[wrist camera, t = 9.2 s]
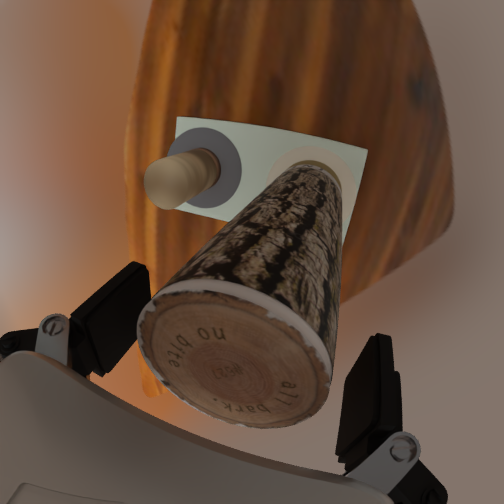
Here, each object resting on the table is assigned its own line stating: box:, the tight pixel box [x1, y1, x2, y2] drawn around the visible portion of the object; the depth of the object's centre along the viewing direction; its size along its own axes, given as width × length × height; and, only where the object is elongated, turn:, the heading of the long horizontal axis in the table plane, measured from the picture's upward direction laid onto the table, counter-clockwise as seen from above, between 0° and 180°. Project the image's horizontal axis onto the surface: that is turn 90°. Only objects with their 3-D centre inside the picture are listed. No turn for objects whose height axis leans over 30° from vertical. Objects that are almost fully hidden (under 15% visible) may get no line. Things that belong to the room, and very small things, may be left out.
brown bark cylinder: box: [137, 160, 342, 429], centre depth 19 cm, size 7×7×25 cm
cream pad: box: [266, 146, 356, 223], centre depth 30 cm, size 10×10×1 cm
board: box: [167, 116, 368, 246], centre depth 32 cm, size 12×23×1 cm, turn 81°
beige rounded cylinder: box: [144, 148, 221, 209], centre depth 29 cm, size 5×5×8 cm
